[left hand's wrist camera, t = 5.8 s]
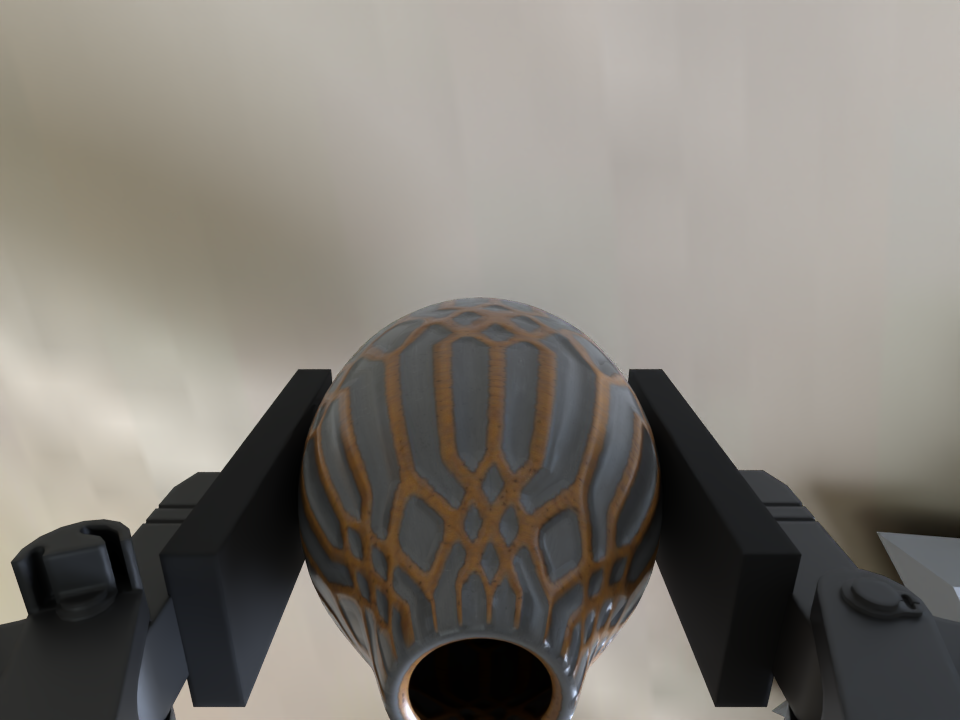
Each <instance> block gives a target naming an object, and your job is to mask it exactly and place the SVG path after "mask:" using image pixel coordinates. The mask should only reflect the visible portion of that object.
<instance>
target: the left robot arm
mask: <svg viewBox="0 0 960 720" xmlns="http://www.w3.org/2000/svg"><path fill="white" fill-rule="evenodd" d="M628 383H629V385H630V387H631V388H632V390H633V391H634V393H635V395H636V397H637V398H638V400H639V402H640V404H641V406H642V408H643V411H644V413H645V415H646V417H647V419H648V422H649V424H650V427H651V430H652V433H653V436H654V440H655V444H656V448H657V452H658V457H659V462H660V469H661V479H662V524H661V533H660V541H659V547H658V552H657V555H656V559H655V560H656V562H657V564H658V567H659V569H660V572H661V574H662V577H663V579H664V582H665V584H666V587H667V589H668V592H669V594H670V596H671V599H672V601H673V604H674V606H675V609H676V611H677V614H678V616H679V619H680V621H681V624H682V626H683V628H684V631H685V633H686V636H687V638H688V641H689V643H690V646H691V648H692V651H693V653H694V656H695V658H696V660H697V663H698V665H699V668H700V670H701V673H702V675H703V678H704V680H705V683H706V685H707V688H708V690H709V692H710V695H711V697H712V700H713V702H714V705H715V707H767V704H768V700H769V696H770V691H771V687H772V683H773V678H774V677H775V679H776V681H777V683H778V685H779V687H780V688H781V690H782V692H783V694H784V696H785V698H786V700H787V702H788V705H787V709H786V714H785V718H784V720H960V622H957V621H952V620H948V619H943V618H939V617H936V616H933V615H932V613H931V612H930V611H929V609H928V608H927V606H926V605H925V604H924V602H923V601H922V600H921V599H920V598H919V597H918V596H916V595H915V594H914V593H913V592H911V591H910V590H909V589H907V588H906V587H905V586H903V585H901V584H899V583H897V582H895V581H893V580H891V579H889V578H887V577H885V576H883V575H880V574H876V573H873V572H870V571H867V570H863V569H858V568H857V566H856V565H855V564H854V563H853V562H852V561H851V559H850V558H849V557H848V556H847V555H846V554H845V552H844V551H843V550H842V549H841V548H840V547H839V545H838V544H837V543H836V542H835V541H834V540H833V538H832V537H831V536H830V535H829V534H828V533H827V531H826V530H825V529H824V528H823V527H822V526H821V524H820V523H819V522H815V517H814V516H813V515H812V514H811V513H810V512H809V511H808V509H807V508H806V507H803V506H802V502H801V501H800V500H799V499H798V498H797V497H796V495H795V494H794V493H793V492H792V491H791V490H790V488H789V487H788V486H787V485H785V484H784V483H782V482H781V481H779V480H778V479H776V478H774V477H773V476H771V475H770V474H768V473H766V472H765V471H763V470H738V469H737V468H736V467H735V465H734V464H733V463H732V461H731V460H730V459H729V457H728V456H727V455H726V453H725V452H724V451H723V449H722V448H721V447H720V445H719V444H718V443H717V442H716V440H715V439H714V438H713V436H712V435H711V434H710V432H709V431H708V430H707V428H706V427H705V426H704V424H703V423H702V422H701V420H700V419H699V418H698V416H697V415H696V414H695V412H694V411H693V410H692V408H691V407H690V406H689V404H688V403H687V402H686V400H685V399H684V398H683V396H682V395H681V394H680V393H679V391H678V390H677V389H676V387H675V386H674V385H673V383H672V382H671V381H670V379H669V378H668V377H667V375H666V374H665V373H664V371H663V370H662V369H629V379H628ZM331 384H332V374H331V369H298V371H297V372H296V373H295V375H294V376H293V377H292V378H291V380H290V381H289V382H288V384H287V385H286V386H285V388H284V389H283V390H282V392H281V393H280V394H279V396H278V397H277V398H276V400H275V401H274V402H273V404H272V405H271V406H270V408H269V409H268V410H267V412H266V413H265V414H264V416H263V417H262V418H261V420H260V421H259V422H258V424H257V425H256V426H255V428H254V429H253V430H252V431H251V433H250V434H249V435H248V437H247V438H246V439H245V441H244V442H243V443H242V445H241V446H240V447H239V449H238V450H237V451H236V453H235V454H234V455H233V457H232V458H231V459H230V461H229V462H228V463H227V465H226V466H225V467H224V469H223V470H222V471H221V472H197V473H196V474H194V475H193V476H191V477H190V478H188V479H186V480H185V481H183V482H182V483H180V484H178V485H177V486H175V487H174V488H173V489H172V490H171V491H170V493H169V494H168V495H167V496H166V497H165V498H164V500H163V501H162V502H161V503H160V504H159V508H158V509H155V510H154V511H153V512H152V514H151V515H150V516H149V517H148V518H147V520H146V524H142V525H141V527H140V528H139V529H138V530H137V531H136V532H135V534H134V535H133V536H132V537H131V534H130V530H129V528H128V527H126V526H125V525H123V524H122V523H121V522H117V521H111V520H105V519H102V520H91V521H82V522H79V523H75V524H71V525H67V526H64V527H61V528H58V529H56V530H54V531H52V532H49V533H47V534H45V535H43V536H41V537H39V538H37V539H36V540H34V541H33V542H32V543H30V544H29V545H27V546H26V547H24V548H23V549H22V550H21V551H20V552H19V553H18V554H17V556H16V557H15V558H14V559H13V560H12V561H11V564H12V567H13V570H14V573H15V576H16V579H17V582H18V585H19V588H20V591H21V594H22V597H23V600H24V603H25V606H26V609H27V612H28V617H27V619H23V620H20V621H15V622H11V623H6V624H2V625H0V720H176V718H175V714H174V709H173V704H174V702H175V700H176V698H177V696H178V694H179V692H180V690H181V689H182V687H183V685H184V683H185V681H186V679H187V681H188V685H189V689H190V694H191V698H192V702H193V707H245V706H246V703H247V701H248V698H249V696H250V693H251V691H252V689H253V686H254V684H255V681H256V679H257V676H258V674H259V671H260V669H261V666H262V664H263V661H264V659H265V657H266V654H267V652H268V649H269V647H270V644H271V642H272V639H273V637H274V634H275V632H276V629H277V627H278V625H279V622H280V620H281V617H282V615H283V612H284V610H285V607H286V605H287V602H288V600H289V597H290V595H291V593H292V590H293V588H294V585H295V583H296V580H297V578H298V575H299V573H300V570H301V568H302V565H303V563H304V561H305V557H304V553H303V549H302V543H301V537H300V529H299V518H298V485H299V474H300V465H301V460H302V455H303V450H304V446H305V442H306V438H307V435H308V432H309V428H310V426H311V423H312V421H313V418H314V416H315V414H316V412H317V410H318V407H319V405H320V403H321V401H322V400H323V398H324V396H325V394H326V392H327V391H328V389H329V387H330V386H331Z"/></svg>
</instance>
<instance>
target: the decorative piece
mask: <svg viewBox="0 0 960 720" xmlns="http://www.w3.org/2000/svg"><path fill="white" fill-rule="evenodd" d="M877 534H878V536H879V538H880V540H881V542H882V543H883V545H884V547H885V549H886V551H887V553H888V555H889V557H890V559H891V561H892V562H893V564H894V566H895V568H896V570H897V572H898V574H899V576H900V578H901V580H902V582H903V583H904V585H905V587H906V588H907V589H909V590H910V591H911V592H913V593H914V594H915V595H916V596H918V597H919V598H920V599H921V600H922V601H923V602H924V604H925V605H926V606H927V608H928V609H929V611H930V612H931V613H932V615H933V616H936V617H939V618H943V619H948V620H952V621H957V622H960V538H948V537H936V536H924V535H911V534H899V533H887V532H877ZM787 705H788V702H787V700H786V701H785V702H783V703H782V704H781V705H779V706H778V707H777V708H775V709H774V710H772V711H773V712H775V713H777V714H780V715H782V716H784V717H785V714H786V709H787Z"/></svg>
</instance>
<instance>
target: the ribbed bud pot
mask: <svg viewBox="0 0 960 720" xmlns="http://www.w3.org/2000/svg"><path fill="white" fill-rule="evenodd" d="M298 518H299V529H300V537H301V543H302V549H303V553H304V557H305V561H306V564H307V568H308V572H309V574H310V577H311V580H312V583H313V585H314V587H315V589H316V591H317V593H318V595H319V597H320V599H321V601H322V603H323V605H324V607H325V609H326V610H327V612H328V614H329V615H330V616H331V618H332V619H333V621H334V622H335V624H336V625H337V626H338V628H339V629H340V631H341V632H342V633H343V634H344V636H345V637H346V638H347V639H348V641H349V642H350V643H351V644H352V645H353V647H354V648H355V649H356V650H357V651H358V653H359V654H360V655H361V656H362V657H363V659H364V660H365V661H366V662H367V663H368V664H369V665H370V667H371V668H372V670H373V672H374V674H375V677H376V680H377V684H378V687H379V691H380V694H381V697H382V700H383V703H384V706H385V709H386V712H387V714H388V716H389V718H390V720H570V719H571V717H572V715H573V713H574V711H575V708H576V705H577V703H578V700H579V696H580V693H581V690H582V686H583V683H584V679H585V676H586V673H587V671H588V669H589V667H590V666H591V665H592V664H593V663H594V662H595V661H596V659H597V658H598V657H599V656H600V655H601V653H602V652H603V651H604V650H605V649H606V647H607V646H608V645H609V644H610V643H611V641H612V640H613V639H614V638H615V636H616V635H617V634H618V633H619V631H620V630H621V629H622V627H623V626H624V624H625V623H626V622H627V620H628V619H629V617H630V616H631V614H632V613H633V611H634V610H635V608H636V606H637V604H638V603H639V601H640V599H641V597H642V594H643V592H644V590H645V588H646V586H647V584H648V581H649V579H650V576H651V573H652V570H653V566H654V563H655V559H656V555H657V552H658V547H659V541H660V533H661V524H662V479H661V469H660V462H659V457H658V452H657V448H656V444H655V440H654V436H653V433H652V430H651V427H650V424H649V422H648V419H647V417H646V415H645V413H644V411H643V408H642V406H641V404H640V402H639V400H638V398H637V397H636V395H635V393H634V391H633V390H632V388H631V387H630V385H629V383H628V382H627V380H626V379H625V377H624V376H623V374H622V373H621V372H620V370H619V369H618V368H617V366H616V365H615V364H614V363H613V362H612V361H611V359H610V358H609V357H608V356H607V355H606V354H605V353H604V352H603V351H602V350H601V348H600V347H599V346H598V345H597V344H595V343H594V342H593V341H592V340H591V339H590V338H589V337H588V336H586V335H585V334H584V333H582V332H581V331H580V330H578V329H577V328H575V327H574V326H572V325H571V324H569V323H568V322H566V321H564V320H562V319H560V318H558V317H556V316H554V315H552V314H550V313H548V312H546V311H543V310H541V309H538V308H536V307H533V306H530V305H526V304H523V303H519V302H515V301H510V300H504V299H495V298H466V299H457V300H451V301H446V302H441V303H438V304H434V305H431V306H428V307H425V308H422V309H419V310H417V311H415V312H413V313H411V314H408V315H406V316H404V317H402V318H400V319H398V320H397V321H395V322H393V323H391V324H390V325H388V326H387V327H385V328H384V329H382V330H381V331H379V332H378V333H377V334H375V335H374V336H373V337H372V338H370V339H369V340H368V341H367V342H366V343H365V344H364V345H363V346H362V347H361V348H360V349H359V350H358V351H357V352H356V353H355V355H354V356H353V357H352V358H351V359H350V360H349V361H348V362H347V363H346V365H345V366H344V367H343V369H342V370H341V371H340V372H339V374H338V375H337V377H336V378H335V380H334V381H333V383H332V384H331V386H330V387H329V389H328V391H327V392H326V394H325V396H324V398H323V400H322V401H321V403H320V405H319V407H318V410H317V412H316V414H315V416H314V418H313V421H312V423H311V426H310V428H309V432H308V435H307V438H306V442H305V446H304V450H303V455H302V460H301V465H300V474H299V485H298Z"/></svg>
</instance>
